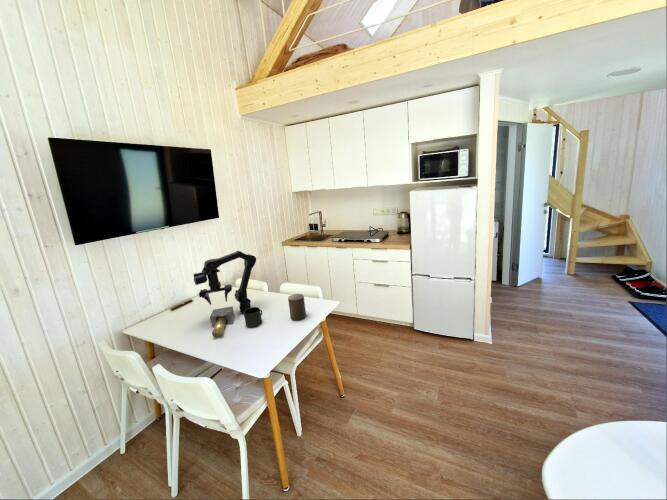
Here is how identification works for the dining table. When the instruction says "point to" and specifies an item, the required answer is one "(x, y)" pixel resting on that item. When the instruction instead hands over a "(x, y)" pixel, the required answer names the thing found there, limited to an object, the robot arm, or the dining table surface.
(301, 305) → the pillar candle
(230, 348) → the dining table surface
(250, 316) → the mug
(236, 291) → the robot arm
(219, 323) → the gold cylindrical piece
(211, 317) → the block
